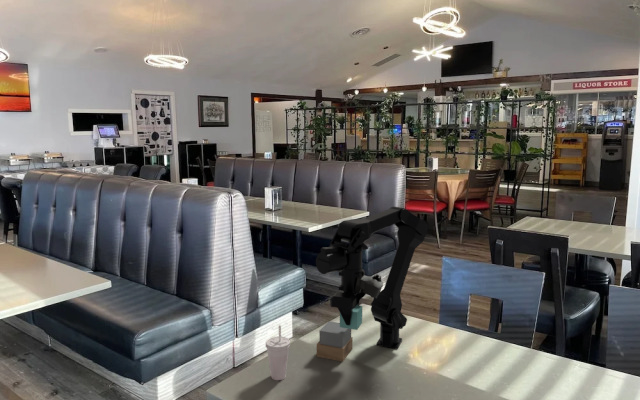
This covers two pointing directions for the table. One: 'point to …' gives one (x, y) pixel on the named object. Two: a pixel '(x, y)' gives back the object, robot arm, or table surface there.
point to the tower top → (334, 335)
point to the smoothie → (278, 355)
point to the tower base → (334, 351)
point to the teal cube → (353, 319)
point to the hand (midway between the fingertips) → (351, 321)
